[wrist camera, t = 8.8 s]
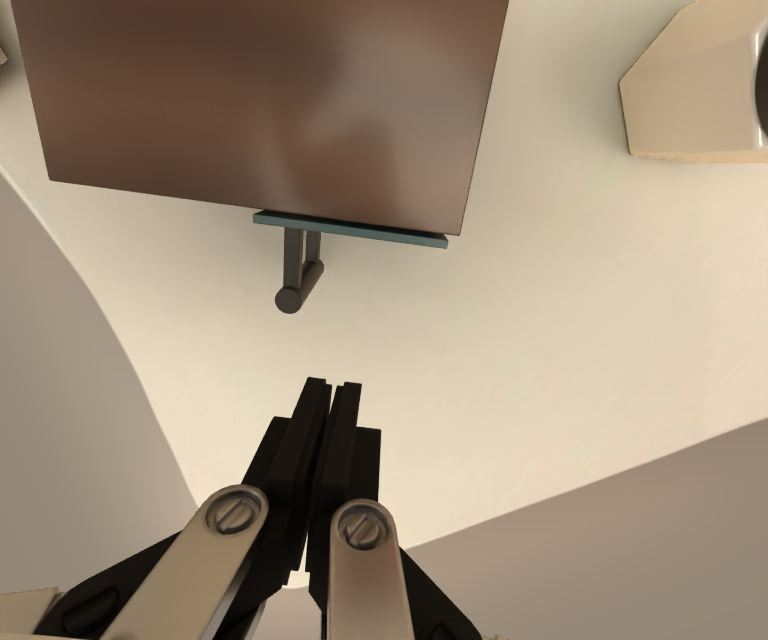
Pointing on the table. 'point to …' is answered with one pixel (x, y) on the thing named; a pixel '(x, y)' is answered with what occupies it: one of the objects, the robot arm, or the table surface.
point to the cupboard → (268, 101)
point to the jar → (702, 86)
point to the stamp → (2, 57)
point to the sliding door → (306, 275)
